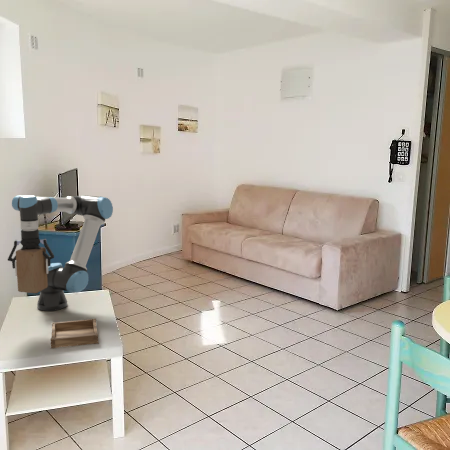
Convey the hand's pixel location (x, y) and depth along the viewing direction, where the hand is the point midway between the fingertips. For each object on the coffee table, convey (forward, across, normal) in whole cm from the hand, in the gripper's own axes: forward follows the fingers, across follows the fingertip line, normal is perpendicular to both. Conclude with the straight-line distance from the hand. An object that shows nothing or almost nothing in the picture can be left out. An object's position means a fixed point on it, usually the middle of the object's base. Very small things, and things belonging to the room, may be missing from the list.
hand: (32, 274), depth 223 cm
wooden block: (+8, 0, 0) cm, 8 cm away
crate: (+27, +18, -16) cm, 36 cm away
